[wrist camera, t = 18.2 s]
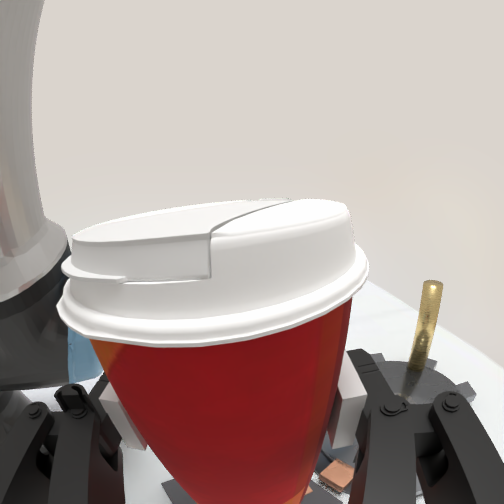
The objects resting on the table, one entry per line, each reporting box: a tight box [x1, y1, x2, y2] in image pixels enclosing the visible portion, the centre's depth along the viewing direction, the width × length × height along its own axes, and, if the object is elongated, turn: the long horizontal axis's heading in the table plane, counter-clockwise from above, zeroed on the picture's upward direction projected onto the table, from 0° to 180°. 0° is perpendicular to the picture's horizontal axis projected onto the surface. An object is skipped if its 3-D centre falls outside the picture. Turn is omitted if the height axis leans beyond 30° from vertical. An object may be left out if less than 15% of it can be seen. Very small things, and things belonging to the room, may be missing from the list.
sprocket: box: [319, 280, 476, 496], centre depth 22 cm, size 23×23×13 cm
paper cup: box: [56, 198, 369, 504], centre depth 8 cm, size 8×8×14 cm
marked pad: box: [161, 479, 343, 504], centre depth 16 cm, size 12×12×1 cm
